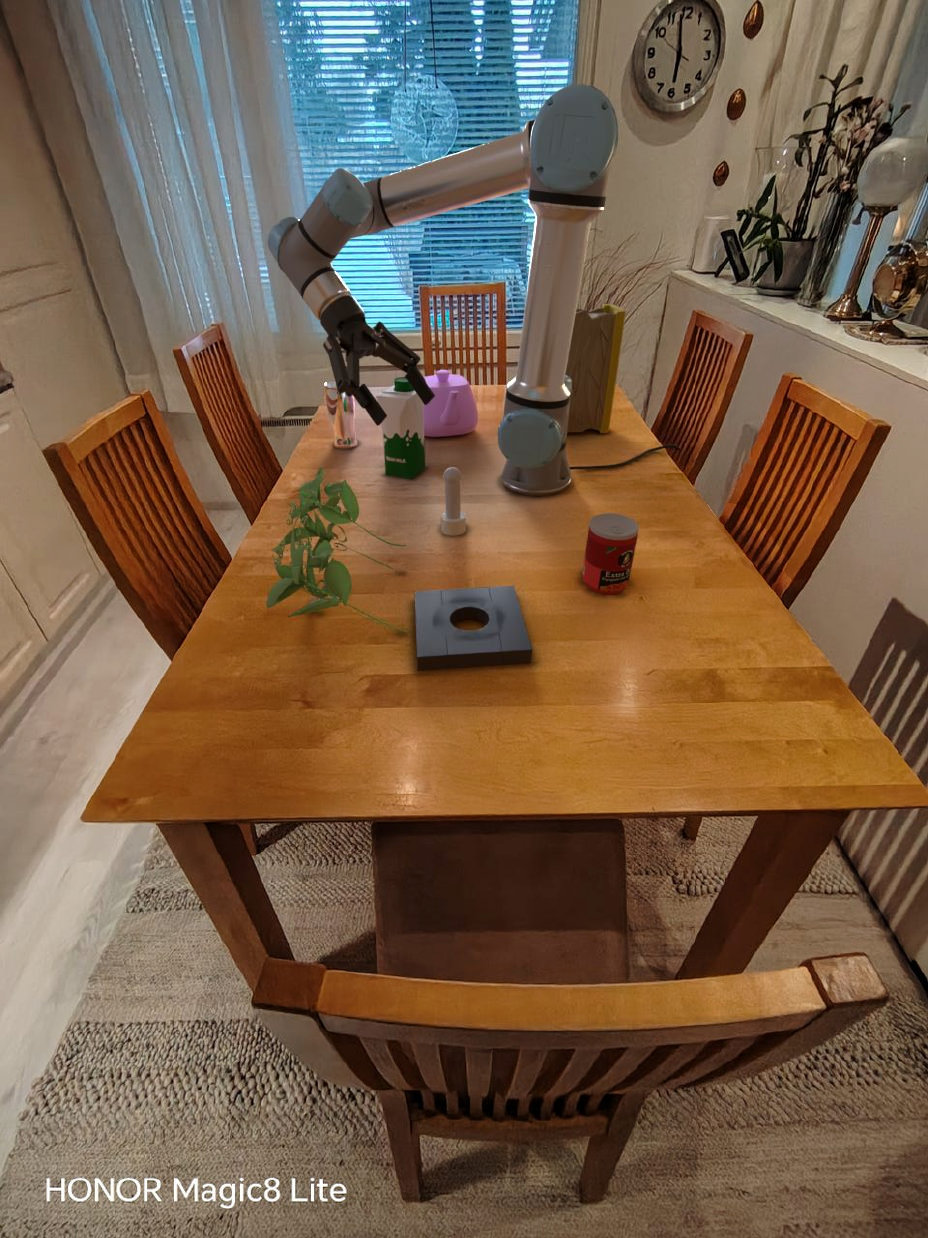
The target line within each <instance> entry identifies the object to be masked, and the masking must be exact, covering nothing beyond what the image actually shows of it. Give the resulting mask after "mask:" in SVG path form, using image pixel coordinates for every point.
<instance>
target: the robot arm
mask: <svg viewBox="0 0 928 1238" xmlns="http://www.w3.org/2000/svg"><path fill="white" fill-rule="evenodd" d="M618 125H619V124H618V118H617V114H616V110H615V109H614V106H613V104H612V102H611V100H610V99H609V97H608V96H607V95H606V94H605V92H603V91H602V90H601V89H599V88H597V87H596V86H594V85H589V84H588V85H587V84H586V83H585V84H584V83H579V84H569V85H568V86H564V87H561V88H560V89H558V90H557V91H555V92H554V93H552V95H550V97H549V98H547V99H546V101H545V102H544V103H543V105H542V106H541V107H540V109H539V111H538V112H537V115H536V117H535V119H532V120H529V121H527V122H526V123H525V125H524V127H523V129H522V131H521V132H518V133H515V134H511V135H508V136H505V137H502V138H499V139H495V140H492V141H489V142H486V143H483V144H480V145H477V146H474V147H471V148H468V149H464V150H462V151H459V152H456V153H453V154H450V155H449V154H448V155H446V156H443V157H440V158H437V159H434V160H432V161H428V162H424V163H421V164H419V165H416V166H411V167H409V168H405V169H403V170H399V171H397V172H394V173H391V174H388V175H385V176H382V177H378V178H374V179H371V180H368V181H364V182H362V181H361V180H360V179H359V177H357V175H356V174H354V173H353V172H352V171H349V169H347V168H343V167H338V168H336V169H335V170H334V171H333V172H332V173H331V175H330V176H329V178H328V179H326V180H325V181H324V182H323V183H322V186H321V189H320V190H319V191H318V193H317V195H315V197H314V199H313V200H312V202H311V203H310V205H309V206H308V208H306V211H305V212H304V214H302V216H301V218H300V219H299V218H297V217H296V216H287V217H284V218H282V219H280V220H279V222H278V223H277V224H275V225H273V226H272V228H271V229H270V231H269V232H268V235H267V248H268V250H269V252H270V254H271V255H272V257H273V258H274V260H275V262H276V263H277V265H278V267H279V269H280V270H281V271H282V272H283V273H284V274H285V276H286V278H287V279H288V280H289V282H290V283H291V285H292V286H293V287H294V288H295V290H296V291H297V292H298V294H299V296H300V297H301V298H302V300H303V301H304V303H305V304H306V305H307V307H308V308H309V310H310V311H311V312H312V314H313V315H314V317H315V319H317V320H318V321H319V322H320V323H319V324H320V326H321V327H322V328H323V330H324V331H325V333H326V334H327V336H326V338H325V340H324V342H323V344H322V346H323V347H322V348H323V349H324V350H325V352H326V353H327V355H328V358H329V362H330V363H329V364H330V367H331V370H332V374H333V377H334V380H335V382H336V386H337V390H338V392H339V393H341V394H343V393H344V392H345V394H346V395H347V396H348V397H351V396H352V395H353V396H354V400H356V402H357V403H358V405H359V406H360V407H361V408H362V409H363V410H365V411H366V412H367V414H368V415H369V417H370V418H371V420H372V421H373V422H374V424H375V425H376V426H380V425H382V422H383V420H384V419H385V418H386V417H387V415H386V413H385V412H384V410H383V409H382V407H381V406H380V405H379V403H378V401H377V398H375V396H374V395H373V393H372V392H371V390H370V389H369V387H368V386H367V385H366V383H362V384H361V382H360V381H361V379H360V378H361V377H360V373H361V372H360V360H361V359H363V358H364V357H374V358H380V359H382V360H383V361H385V362H387V363H388V364H390V365H392V366H393V367H395V368H397V369H399V370H400V371H402V372H403V373H405V375H404V377H406V379H407V380H408V382H409V383H410V385H411V386H412V387H413V389H414V390H415V392H416V393H417V395H418V396H419V397H420V399H421V400H422V402H423V403H424V405H427V404H428V403H429V402H430V401H431V400H432V399H433V398H434V397H435V395H434V393H433V392H432V390H431V389H430V388H429V386H428V385H427V383H426V381H425V378H424V377H425V376H423V374H422V373H421V371H420V370H419V368H418V366H417V365H418V364H419V363H420V361H421V357H420V356H419V355H418V354H417V353H416V352H415V351H413V349H411V348H410V347H408V346H407V345H406V344H405V343H404V342H403V341H402V340H400V339H399V338H398V337H397V336H395V334H393V333H392V332H391V331H389V330H388V329H387V327H386V326H385V324H384V323H383V322H382V321H377V323H376V325H374V326H371V325H369V324H368V322H367V319H366V313H365V311H364V309H363V308H362V306H361V305H360V304H359V302H358V301H357V299H356V298H355V297H354V296H353V295H352V292H351V290H350V289H349V287H348V286H347V284H346V283H345V281H343V279H342V277H341V276H340V275H339V273H338V271H336V269H335V268H334V265H333V264H332V263H333V261H334V259H336V258H337V256H338V255H339V254H340V252H341V251H342V250H343V249H344V247H345V246H346V245H347V244H348V243H349V241H350V240H351V239H354V238H359V237H363V236H371V235H374V234H378V233H381V232H382V231H386V230H389V229H393V228H396V227H398V226H402V225H406V224H409V223H413V222H416V221H420V220H422V219H427V218H430V217H434V216H436V215H440V214H444V213H447V212H451V211H454V210H457V209H458V210H459V209H461V208H464V207H468V206H471V205H475V204H479V203H482V202H486V201H489V200H493V199H495V198H500V197H504V196H506V195H510V194H514V193H517V192H521V191H524V190H527V189H528V196H527V204H528V205H529V206H530V209H531V210H532V211H533V213H534V216H535V220H534V221H535V222H534V228H533V229H534V230H533V238H532V246H531V252H530V260H529V261H530V263H529V269H528V278H527V285H526V286H527V287H526V294H525V301H524V310H523V318H522V326H521V335H520V343H519V351H518V359H517V365H516V366H517V367H516V375H515V376H514V378H512V379H511V381H509V382H508V383H507V384H506V389H505V397H504V405H503V413H502V420H501V421H500V423H499V426H498V428H497V444H498V448H499V451H500V452H501V454H502V455H503V456H504V458H505V459H506V461H505V463H504V466H503V469H502V472H501V473H502V474H501V484H502V485H503V486H504V488H506V489H507V490H509V491H511V492H513V493H515V494H519V495H522V496H530V497H547V496H548V497H549V496H553V495H558V494H560V493H563V492H565V491H567V489H569V488H570V486H571V483H572V470H574V471H575V470H598V469H600V470H601V469H612V468H619V467H622V466H626V465H628V464H630V463H632V462H634V461H637V460H639V459H641V458H642V457H644V456H645V455H647V454H649V453H652V452H656V451H659V450H663V449H669V448H672V449H675V450H676V451H679V452H680V451H682V449H681V448H680V447H679V446H678V445H676V444H664V445H659V446H656V447H653V448H649V449H647V450H645V451H643V452H641V453H640V454H638V455H635V456H634V457H632V458H630V459H628V460H625V461H623V462H618V463H613V464H603V465H577V466H576V465H573V466H570V464H569V458H568V455H567V449H566V448H567V437H568V432H567V429H568V418H569V408H570V398H571V393H572V389H571V388H572V381H571V378H570V377H569V376H567V375H565V373H566V367H567V361H568V356H569V350H570V344H571V338H572V332H573V327H574V321H575V315H576V309H577V308H578V302H579V297H580V292H581V286H582V279H583V274H584V269H585V262H586V256H587V250H588V244H589V238H590V233H591V227H592V223H593V221H594V220H595V218H596V217H597V216H598V215H600V214H601V213H602V212H603V211H604V210H605V205H606V200H607V194H608V189H609V185H610V184H609V183H610V179H611V173H612V168H613V161H614V158H615V156H616V152H617V148H618V143H619V126H618ZM377 344H378V345H377ZM343 351H344V352H345V358H344V354H343ZM360 384H361V385H360Z"/></svg>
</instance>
